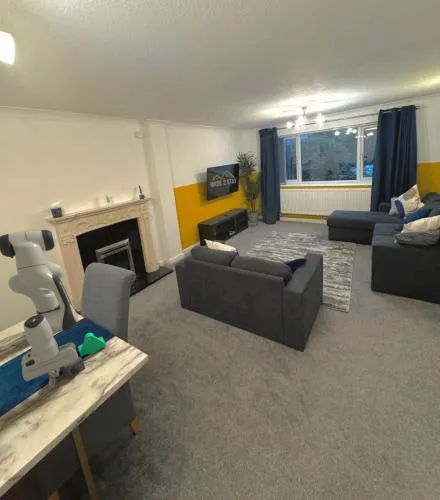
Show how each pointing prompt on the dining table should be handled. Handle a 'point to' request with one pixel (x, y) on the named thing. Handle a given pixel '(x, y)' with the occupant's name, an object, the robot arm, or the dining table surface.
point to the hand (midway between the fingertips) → (56, 376)
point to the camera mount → (91, 344)
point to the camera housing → (73, 368)
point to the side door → (52, 379)
